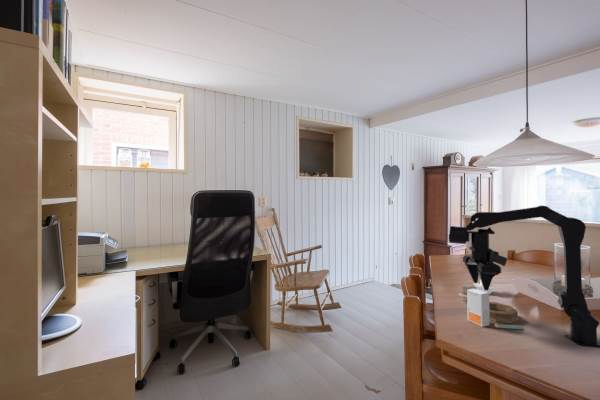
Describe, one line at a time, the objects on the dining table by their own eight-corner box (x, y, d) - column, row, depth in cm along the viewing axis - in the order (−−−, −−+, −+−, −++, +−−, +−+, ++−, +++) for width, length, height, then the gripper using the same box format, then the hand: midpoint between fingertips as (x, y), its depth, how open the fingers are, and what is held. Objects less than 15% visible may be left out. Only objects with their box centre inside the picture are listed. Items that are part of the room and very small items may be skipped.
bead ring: (522, 324, 103) (522, 314, 103) (484, 321, 106) (484, 312, 106) (506, 311, 115) (506, 302, 115) (472, 309, 118) (472, 301, 118)
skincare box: (467, 320, 107) (466, 289, 107) (475, 319, 108) (474, 288, 109) (482, 327, 101) (481, 294, 101) (490, 325, 103) (489, 292, 103)
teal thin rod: (521, 328, 100) (521, 324, 100) (524, 330, 98) (523, 326, 98) (493, 326, 102) (493, 322, 102) (495, 328, 100) (495, 324, 100)
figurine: (478, 295, 136) (477, 264, 136) (472, 289, 145) (471, 260, 145) (495, 296, 134) (494, 264, 134) (488, 290, 143) (487, 261, 143)
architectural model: (478, 305, 124) (477, 288, 124) (460, 303, 126) (460, 287, 126) (477, 303, 127) (476, 286, 127) (459, 301, 130) (459, 285, 130)
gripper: (518, 249, 95) (518, 295, 95) (492, 242, 114) (492, 280, 114) (481, 249, 98) (482, 293, 98) (462, 241, 116) (462, 279, 116)
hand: (480, 286), depth 106 cm, fingers open, 9 cm apart
